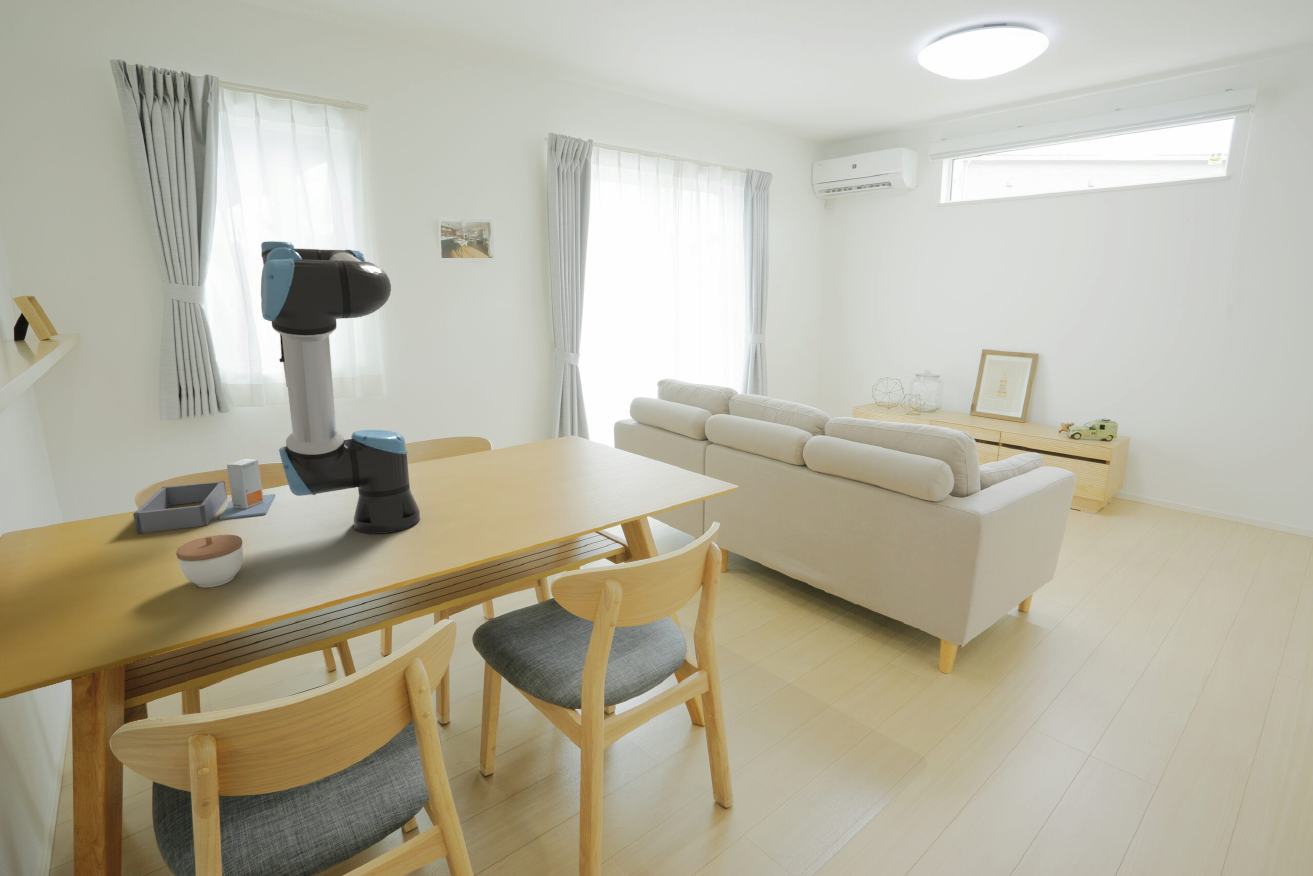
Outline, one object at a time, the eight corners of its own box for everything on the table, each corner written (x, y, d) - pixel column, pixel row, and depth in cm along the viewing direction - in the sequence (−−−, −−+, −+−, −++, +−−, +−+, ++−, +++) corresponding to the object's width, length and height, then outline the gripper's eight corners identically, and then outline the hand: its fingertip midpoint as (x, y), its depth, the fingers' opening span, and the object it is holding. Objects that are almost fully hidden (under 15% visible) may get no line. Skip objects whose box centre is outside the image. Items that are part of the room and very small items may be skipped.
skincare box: (246, 509, 164) (239, 465, 161) (232, 508, 165) (225, 464, 162) (265, 501, 170) (258, 459, 167) (251, 500, 171) (244, 458, 168)
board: (265, 514, 162) (265, 512, 162) (219, 520, 158) (219, 517, 158) (275, 496, 176) (275, 494, 176) (233, 500, 173) (233, 498, 172)
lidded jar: (204, 569, 131) (196, 527, 129) (258, 568, 132) (251, 526, 129) (169, 594, 120) (160, 548, 118) (228, 592, 121) (220, 547, 119)
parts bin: (207, 525, 155) (204, 506, 154) (137, 533, 149) (133, 513, 148) (227, 498, 174) (224, 480, 173) (165, 504, 169) (162, 486, 168)
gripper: (276, 301, 175) (286, 377, 180) (260, 304, 153) (272, 390, 158) (306, 301, 178) (315, 376, 183) (295, 304, 156) (306, 389, 161)
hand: (296, 383), depth 170 cm, fingers open, 13 cm apart
